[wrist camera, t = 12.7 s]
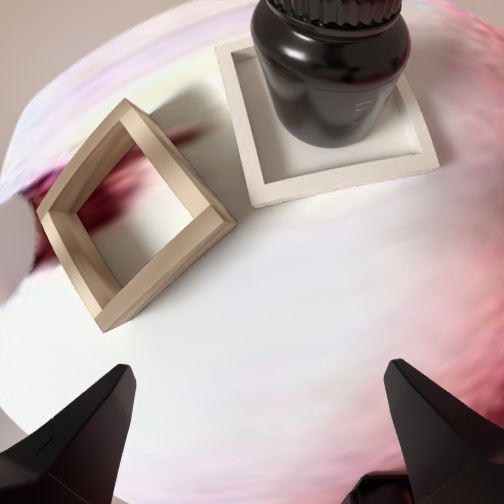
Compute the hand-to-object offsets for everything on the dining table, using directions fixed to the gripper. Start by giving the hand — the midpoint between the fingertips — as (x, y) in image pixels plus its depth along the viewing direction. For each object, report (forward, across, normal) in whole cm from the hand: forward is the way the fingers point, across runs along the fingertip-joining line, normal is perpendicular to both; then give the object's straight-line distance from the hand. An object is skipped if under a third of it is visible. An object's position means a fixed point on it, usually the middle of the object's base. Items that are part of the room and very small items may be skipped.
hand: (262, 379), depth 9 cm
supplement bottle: (+13, -5, -9) cm, 17 cm away
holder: (+13, +9, -2) cm, 16 cm away
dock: (+13, -5, -10) cm, 17 cm away
